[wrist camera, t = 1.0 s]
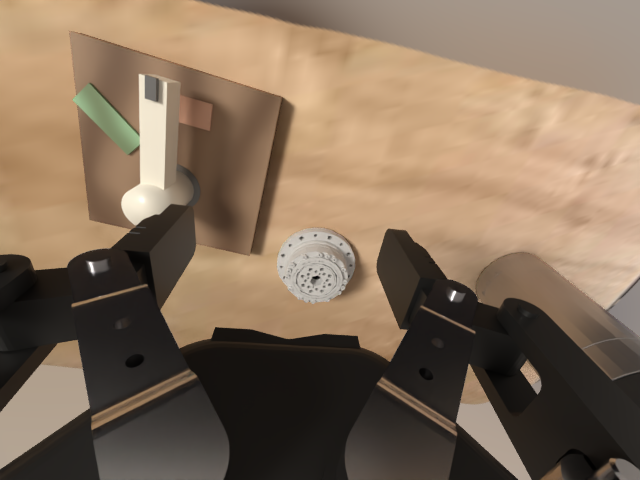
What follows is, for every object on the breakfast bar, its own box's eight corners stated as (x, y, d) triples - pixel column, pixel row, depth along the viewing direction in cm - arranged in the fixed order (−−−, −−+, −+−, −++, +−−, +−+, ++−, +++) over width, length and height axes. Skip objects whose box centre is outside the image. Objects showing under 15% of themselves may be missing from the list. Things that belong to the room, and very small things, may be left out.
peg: (202, 84, 26) (174, 85, 20) (192, 209, 31) (168, 234, 26) (156, 70, 25) (114, 67, 20) (154, 200, 31) (122, 224, 26)
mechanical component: (335, 298, 41) (367, 241, 36) (338, 320, 37) (373, 260, 32) (268, 277, 39) (292, 215, 34) (263, 299, 35) (290, 232, 30)
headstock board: (282, 97, 28) (281, 98, 26) (251, 249, 36) (249, 257, 35) (79, 32, 25) (64, 29, 23) (96, 214, 33) (86, 220, 32)
